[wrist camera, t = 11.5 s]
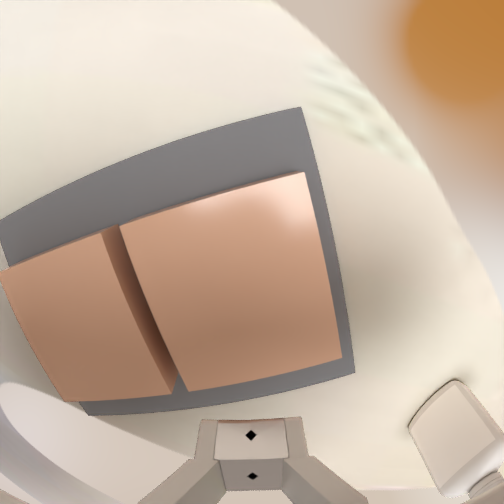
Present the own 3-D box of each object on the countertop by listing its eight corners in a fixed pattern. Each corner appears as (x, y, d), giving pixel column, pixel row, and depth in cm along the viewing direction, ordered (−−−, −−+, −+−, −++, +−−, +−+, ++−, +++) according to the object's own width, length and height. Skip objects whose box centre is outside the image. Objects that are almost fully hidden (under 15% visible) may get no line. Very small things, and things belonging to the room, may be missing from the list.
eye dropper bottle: (400, 410, 19) (462, 539, 7) (462, 370, 18) (546, 478, 6) (410, 436, 20) (461, 547, 8) (466, 401, 19) (532, 498, 8)
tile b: (188, 391, 15) (119, 226, 13) (194, 368, 17) (135, 217, 15) (342, 357, 14) (304, 172, 12) (332, 336, 16) (296, 170, 14)
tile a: (64, 401, 16) (-3, 273, 13) (76, 383, 18) (17, 262, 15) (171, 393, 15) (100, 232, 13) (178, 371, 17) (118, 223, 15)
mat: (89, 413, 19) (88, 415, 18) (-3, 222, 15) (-6, 223, 14) (353, 369, 17) (355, 372, 17) (299, 107, 13) (300, 106, 13)
